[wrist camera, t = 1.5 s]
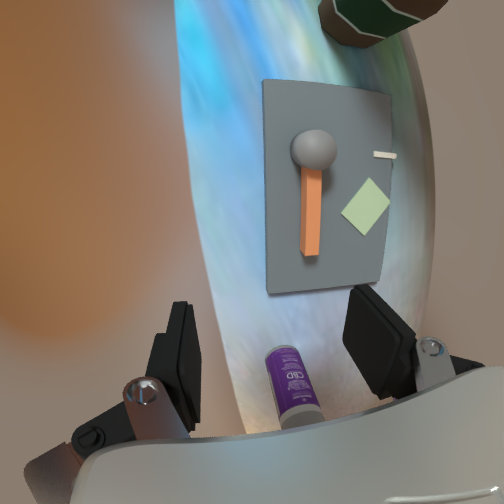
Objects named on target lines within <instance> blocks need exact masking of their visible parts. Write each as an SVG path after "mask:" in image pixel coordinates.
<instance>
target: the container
mask: <svg viewBox="0 0 504 504" xmlns="http://www.w3.org/2000/svg"><path fill="white" fill-rule="evenodd" d="M265 363H266V367H267V372H268V376H269V380H270V384H271V388H272V393H273V397H274V401H275V405H276V409H277V413H278V417H279V421H280V425H281V428H282V430H284V429H290V428H295V427H301V426H306V425H311V424H316V423H320V422H325V420H324V417H323V414H322V411H321V408H320V405H319V403H318V400H317V398H316V395H315V393H314V390H313V387H312V385H311V382H310V380H309V377H308V375H307V372H306V370H305V367H304V365H303V362H302V360H301V357H300V354H299V352H298V350H297V349H296V348H294V347H292V346H288V345H283V346H278V347H276V348H274V349H272V350H271V351H270V352H269V353H268V354H267V355H266V358H265Z"/></svg>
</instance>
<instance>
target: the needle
mask: <svg viewBox="0 0 504 504" xmlns="http://www.w3.org/2000/svg"><path fill="white" fill-rule="evenodd" d="M290 154H291V157H292V159H293V161H294V162H295V163H296V164H297V165H299V166H301V228H300V250H301V251H302V253H303V254H304V255H305V256H310V255H319V240H320V218H321V183H322V170H324V169H327V168H328V167H330V166H331V165H332V164H333V163H334V161H335V159H336V157H337V145H336V142H335V140H334V139H333V137H332V136H331V135H330V134H329V133H327V132H325V131H323V130H310V131H305V132H301V133H299V134H297V135H296V136H295V137H294V138H293V139H292V141H291V144H290Z"/></svg>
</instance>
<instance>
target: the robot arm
mask: <svg viewBox="0 0 504 504" xmlns="http://www.w3.org/2000/svg"><path fill="white" fill-rule="evenodd" d="M415 335H416V333H415V332H414V331H413V330H412V329H411V328H410V327H409V326H408V325H407V324H406V323H405V322H404V321H403V320H402V318H401V317H400V316H399V315H398V314H397V313H396V312H395V311H394V310H393V309H392V308H391V307H390V306H389V305H388V304H387V303H386V302H385V301H384V300H383V299H382V298H381V297H380V296H379V295H378V294H377V293H376V292H375V291H374V290H373V289H372V288H371V287H370V286H369V285H368V284H363V285H356V286H354V288H353V289H351V291H350V296H349V303H348V309H347V315H346V321H345V326H344V332H343V337H342V340H343V344H344V346H345V347H346V349H347V351H348V352H349V354H350V356H351V357H352V359H353V361H354V362H355V364H356V366H357V367H358V369H359V371H360V372H361V374H362V376H363V377H364V379H365V381H366V382H367V384H368V386H369V388H370V389H371V391H372V393H373V394H377V396H378V398H379V399H380V400H382V399H385V398H388V397H391V396H392V397H393V402H390V403H387V404H385V405H382V406H378V407H375V408H372V409H369V410H366V411H363V412H359V413H356V414H352V415H349V416H345V417H341V418H337V419H333V420H329V421H325V422H320V423H316V424H311V425H306V426H301V427H295V428H290V429H284V430H278V431H271V432H263V433H255V434H246V435H235V436H222V437H206V438H191V437H190V435H189V433H190V431H195V423H200V401H201V352H200V346H199V341H198V335H197V329H196V323H195V318H194V311H193V305H192V304H190V305H188V303H187V301H180V302H173V305H172V309H171V314H170V318H169V322H168V326H167V330H166V333H157V334H156V336H155V339H154V343H153V346H152V350H151V354H150V358H149V362H148V366H147V370H146V374H145V376H143V377H138V378H136V379H133V380H131V381H130V382H129V383H127V385H126V386H125V387H124V389H123V392H122V393H123V399H124V401H123V402H121V403H119V404H118V405H116V406H114V407H112V408H111V409H109V410H107V411H106V412H104V413H102V414H101V415H99V416H97V417H95V418H94V419H92V420H90V421H88V422H86V423H85V424H83V425H81V426H80V427H78V428H77V429H76V430H75V432H74V433H73V435H72V438H71V442H69V443H68V444H66V443H65V442H63V443H61V444H60V445H58V446H56V447H54V448H53V449H51V450H49V451H47V452H46V453H44V454H42V455H40V456H39V457H37V458H35V459H33V460H31V461H30V462H29V463H27V464H26V466H25V468H24V478H25V481H26V483H27V485H28V487H29V489H30V490H31V492H32V494H33V496H34V498H35V500H36V502H37V503H38V504H504V368H503V367H499V366H487V367H486V366H484V365H483V364H482V363H478V362H475V361H471V360H467V359H463V358H459V357H455V356H451V355H449V352H448V350H447V347H446V345H445V344H444V343H443V342H442V341H441V340H439V339H437V338H434V337H422V338H420V339H419V340H417V339H416V338H415Z"/></svg>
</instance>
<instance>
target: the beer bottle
mask: <svg viewBox="0 0 504 504" xmlns="http://www.w3.org/2000/svg"><path fill="white" fill-rule="evenodd" d="M447 2H448V0H322V2H321V3H320V5H319V6H318V10H319V15H320V20H321V25H322V28H323V29H324V30H325V31H326V32H327V33H329V34H330V35H331V36H332V37H333V38H334V39H336V40H337V41H338V42H339V43H340V44H342V45H349V46H355V47H360V48H367V47H369V46H372V45H374V44H376V43H378V42H380V41H382V40H383V39H385V38H387V37H389V36H391V35H393V34H395V33H397V32H399V31H401V30H404V29H406V28H408V27H410V26H412V25H414V24H416V23H419V22H421V21H423V20H425V19H427V18H428V17H430V16H432V15H434V14H436V13H437V12H438V11H439V10H440V9H441V8H442V7H443V6H444V5H445V4H446V3H447Z"/></svg>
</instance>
